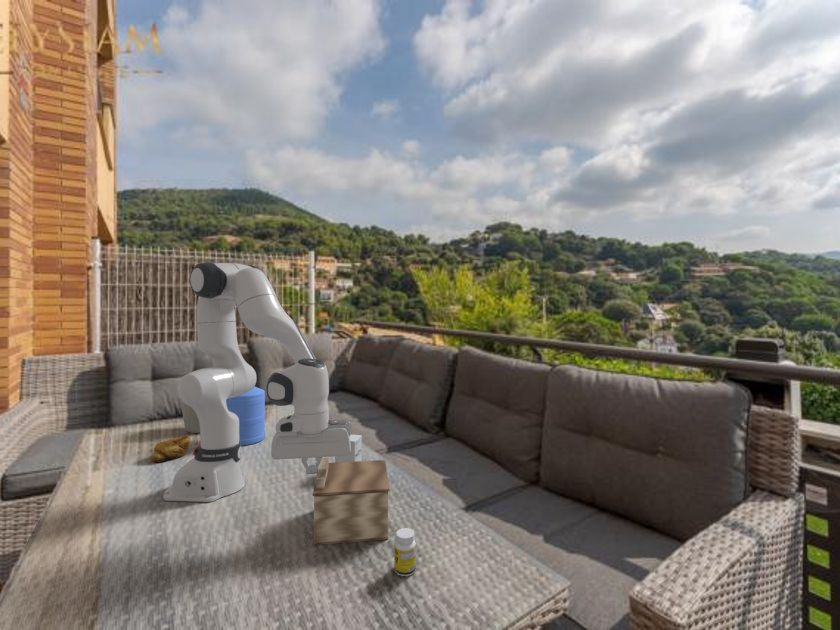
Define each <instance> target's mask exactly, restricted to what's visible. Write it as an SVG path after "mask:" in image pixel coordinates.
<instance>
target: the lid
mask: <svg viewBox="0 0 840 630" xmlns="http://www.w3.org/2000/svg"><path fill="white" fill-rule="evenodd" d="M329 461H330V459H329V457H322V461H321V463H320V464H319V466H318V473H317V475H316V477H315V483H314V487H313V490H312V497H314V496H321V495H337V494H354V493H370V492H386V491H388V492H390V484H389V476H388V470H387V464H386V459H381V460H378V459H377V460H362V461H356V462H336V463H335V462H329Z"/></svg>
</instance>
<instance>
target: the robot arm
mask: <svg viewBox="0 0 840 630" xmlns="http://www.w3.org/2000/svg"><path fill="white" fill-rule="evenodd" d="M189 285H190V288H191V289H192V291H193V293H194V294H195V295H196V296H197V297H198V298H197V302H196V303H197V304H196V334H197V346H198V349H199V350H200V351H201V352H202V353H204V354H206V355H208V356H209V357H210V360H211V362H212V366H210V367H206V368H200V369H199V368H198V369H196V370H194V371H192V372H189V373H187V374H184V375H183V376H182V377H181V378H180V380H179V382H178V386H177V394H178V398H179V397H180V399H179V400H180V401H181V400H182V401H183V402H184V403H185V404H186V405H188V406H190V407H191V408H192V409H193V410H194V411H195V413H196V415H197V417H198V420H199V424H200V433H199V437H200V440H199V441H200V442H199V443H198V444H197V445H196V447H195V448H194V449H193V451H192V452H191V453H192V454H191V456H194V457H193V458H192V459H191V460H189V461H188V462H187V463H186V464H184V465H183V466H182V467H181V468H179V469H178V471H177V472H176V474H174V477H173V480H172V484H170V486H168V487H167V488H166V490H165V491H164V492H163V497H162V499H163V501H167V502H168V501H169V502H170V501H171V502H195V503H196V502H197V503H200V502H202V503H210V502H214V501H216V500H219V499H220V498H222V497H227V496H229V495H232V494H235V493H236V492H237V493H238V491H241V489H243V488H244V486H245V485H246V481H245V478H244V475H243V471H242V463H241V458H242V446H241V441H240V440H239V418H238V416H237V415H236V414H234V413H232V412H230V411H229V410H228V408H227V405H226V400H227V399H229V398H233V397H237V396H240V395H243V394H244V393H246V392H248V391H250V390H251V389H253V387H254V386H255V387H256V383H257V373H256V370H255V369H254V368H253V367H254V366H252V365H250V364H249V363H248V362H247V361H246V360H245V359H244V357H243V355H242V352H241V351H240V347H239V343H238V336H237V335H238V334H237V323H236V311H235V308H236V307H237V310H238V314H239V317H240V319H241V322H242V323H243V324H244V325H245V327H246V328H247V329H248V330H250V332H252V333H254V334H257V335H261V336H264V337H268V338H271V339H274V340H276V341H278V342H280V343H281V344H282V345H284V346H285V347H286V349H287V350H288V352H289V354H290V355H291V358H292V360H293V361H294V363H295V364H293V365H292V366H289V367H287V368H284V369H282V370H278V371H276V372H272V374H271V375H270V376H269V377H268V379H267V381H266V394H267V397H268V399H269V401H270V402H271V403H272V404H274V405H275V406H278V407H285V406H293V407H294V410H293V411H294V413H293V414H290V415H287V416H284V417H281V418H280V419H279V420H278V421H277V423H276V425H275V434H274V436H273V437H272V441H271V447H270V448H271V449H270V456H271V458H272V459H273V460H291V459H301V463H302V466H303V467H304V469H305V474H306V475H315V474H317V473H318V469H319V465H320V463H321V461H322V458H329V457H332V458H333V457H335V456H347V455H348V454H349V453H350V451H351V444H350V435H351V434H352V433H353V425H352V423H351V422H349V421H347V419H340V420H339V419H330V406H329V403H328V402H329V401H328V398H329V394H330V378H329V372H328V368H327V365H326V363H325V362H324V361H322V360H320V359H317V357H316V355H315V354H314V352H313V350H312V348H311V346H310V345H309V343H308V340H307V339H306V336H305V335H304V333H303V331H302V330H301V328H300V327H299V325H298V324H297V322H296V321H295V320H294V319H292V317H290V316H289V314H288V313H286V311H285V310H284V308H283V307H282V305H281V303H280V302H279V299H278V297H277V294H276V292H275V290H274V288H273V286H272V284H271V282H270V280H269V279H268V277H267V276H266V274H265V272H264V271H263V269H261V268H260V267H258V266H255V265H251V264H243V263H237V262H212V261H211V262H210V261H207V262H206V261H205V262H200V263H197V264H195V265H194V267H193V268H192V269H191V271H190V274H189ZM309 458H310V459H311V458H315V461H316V463H315V464H311V465H310V464H309V462H308V461H309V460H308V459H309Z"/></svg>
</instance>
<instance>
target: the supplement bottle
mask: <svg viewBox="0 0 840 630" xmlns="http://www.w3.org/2000/svg"><path fill="white" fill-rule="evenodd" d="M416 544H417V543H416V540H415V531H414V530H413V529H411V528H409V527H402V528H399V529H398V530H397V531H396V533H395V541H394V565H393V566H394V572H395V574H396V573H397V574H396V575H397V576H399V575H401V576H400V577H403V576H406V577H410V576H412V575H413V573H414V574H415V572H416V570H417V569H416V567H417V566H416V565H417V561H416V560H417V551H416V550H417V545H416ZM409 575H410V576H409Z"/></svg>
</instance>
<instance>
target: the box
mask: <svg viewBox="0 0 840 630" xmlns="http://www.w3.org/2000/svg"><path fill="white" fill-rule="evenodd" d="M386 539H387V540H388V539H389V491H386V492H370V493H354V494H337V495H321V496H313V546H320V545H319V544H324V545H332V544H333V545H334V544H348V543H359V542H361V543H362V542H373V541H383V540H384V541H386Z"/></svg>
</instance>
